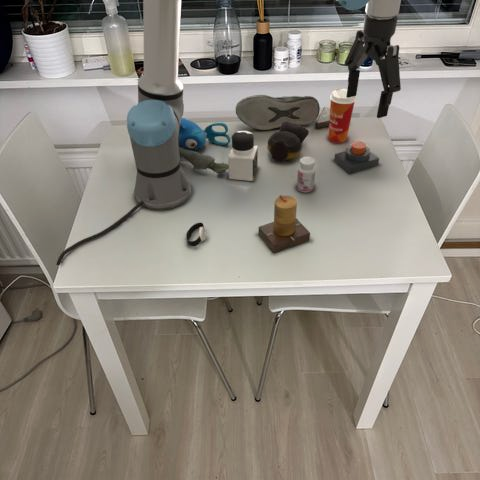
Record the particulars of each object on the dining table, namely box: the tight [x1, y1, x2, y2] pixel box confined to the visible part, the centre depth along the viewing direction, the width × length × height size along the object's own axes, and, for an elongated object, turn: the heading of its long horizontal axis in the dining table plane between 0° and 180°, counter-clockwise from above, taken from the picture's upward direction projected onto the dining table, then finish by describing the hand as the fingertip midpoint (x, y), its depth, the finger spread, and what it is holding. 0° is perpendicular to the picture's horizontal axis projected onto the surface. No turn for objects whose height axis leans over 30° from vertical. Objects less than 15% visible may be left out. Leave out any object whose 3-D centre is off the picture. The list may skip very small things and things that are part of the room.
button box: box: [333, 144, 380, 175], centre depth 138 cm, size 10×8×4 cm
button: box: [351, 141, 367, 155], centre depth 136 cm, size 4×4×2 cm
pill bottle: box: [296, 156, 317, 193], centre depth 128 cm, size 5×5×8 cm
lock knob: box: [273, 194, 298, 236], centre depth 112 cm, size 5×5×8 cm
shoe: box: [235, 94, 321, 131], centre depth 154 cm, size 10×27×12 cm
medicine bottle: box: [227, 130, 259, 182], centre depth 132 cm, size 7×7×12 cm
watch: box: [185, 222, 207, 247], centre depth 116 cm, size 8×5×4 cm, turn 170°
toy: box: [178, 117, 207, 150], centre depth 143 cm, size 12×18×10 cm
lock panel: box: [258, 217, 311, 254], centre depth 116 cm, size 10×9×3 cm
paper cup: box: [328, 88, 357, 144], centre depth 143 cm, size 8×8×14 cm
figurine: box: [266, 122, 309, 163], centre depth 141 cm, size 10×7×15 cm
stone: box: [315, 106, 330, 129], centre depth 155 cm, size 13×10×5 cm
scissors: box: [202, 122, 232, 146], centre depth 148 cm, size 7×1×20 cm
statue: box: [178, 146, 229, 175], centre depth 138 cm, size 7×8×30 cm
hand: (365, 106), depth 125 cm, fingers open, 13 cm apart
